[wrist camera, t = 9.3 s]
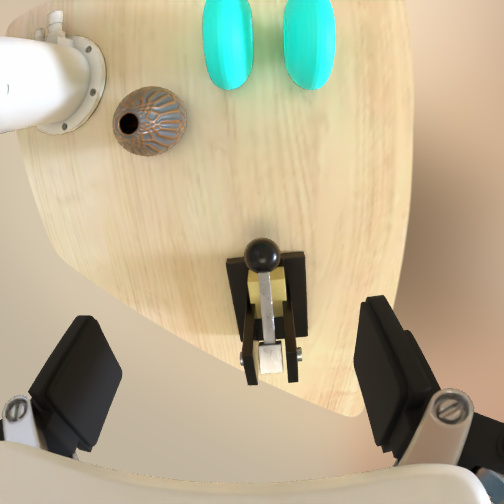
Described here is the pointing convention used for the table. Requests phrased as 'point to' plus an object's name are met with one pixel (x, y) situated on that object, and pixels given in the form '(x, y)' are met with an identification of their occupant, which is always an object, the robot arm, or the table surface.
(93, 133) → the table surface
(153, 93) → the vase
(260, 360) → the ball knob lever
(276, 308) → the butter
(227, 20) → the turquoise capsule pair
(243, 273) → the black lever base
